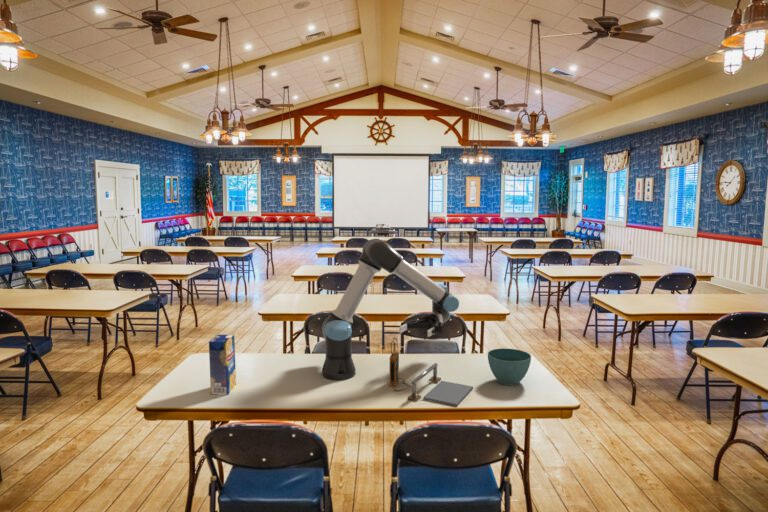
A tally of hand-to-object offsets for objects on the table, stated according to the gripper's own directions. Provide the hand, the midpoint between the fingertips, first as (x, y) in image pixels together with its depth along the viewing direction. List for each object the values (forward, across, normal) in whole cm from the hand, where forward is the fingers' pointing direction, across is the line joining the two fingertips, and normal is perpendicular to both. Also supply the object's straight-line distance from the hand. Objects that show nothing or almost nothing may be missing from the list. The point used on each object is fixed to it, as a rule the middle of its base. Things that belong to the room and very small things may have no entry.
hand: (413, 332), depth 218 cm
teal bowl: (-14, -38, -21) cm, 46 cm away
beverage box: (+51, +64, -20) cm, 84 cm away
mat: (+11, -20, -21) cm, 31 cm away
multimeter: (+11, 0, -21) cm, 23 cm away
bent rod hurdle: (+11, -10, -21) cm, 25 cm away
